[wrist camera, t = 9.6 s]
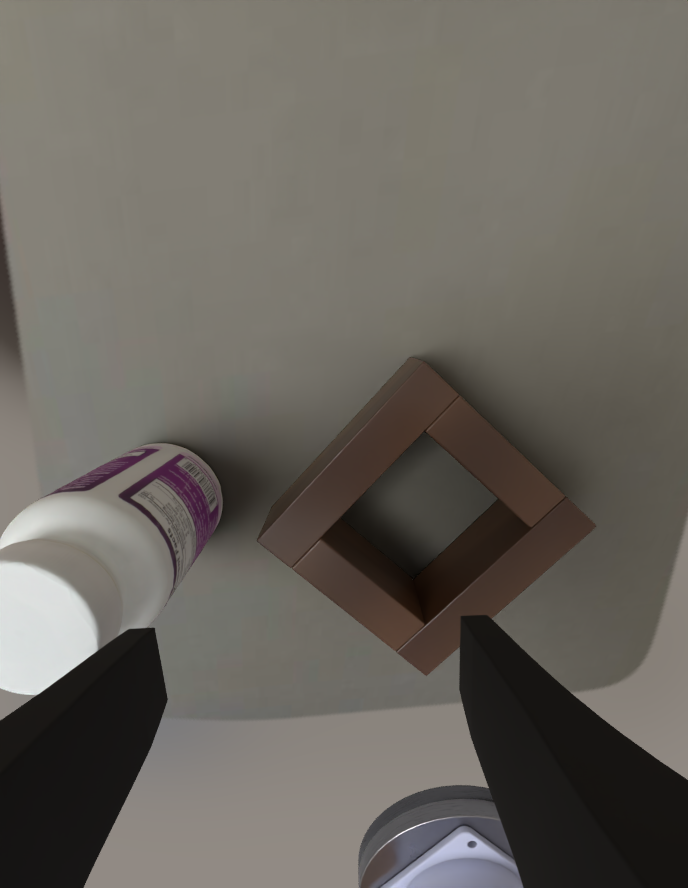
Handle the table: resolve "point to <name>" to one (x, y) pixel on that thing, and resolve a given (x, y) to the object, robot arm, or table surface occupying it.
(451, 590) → the frame
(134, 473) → the pill bottle
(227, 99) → the table surface
